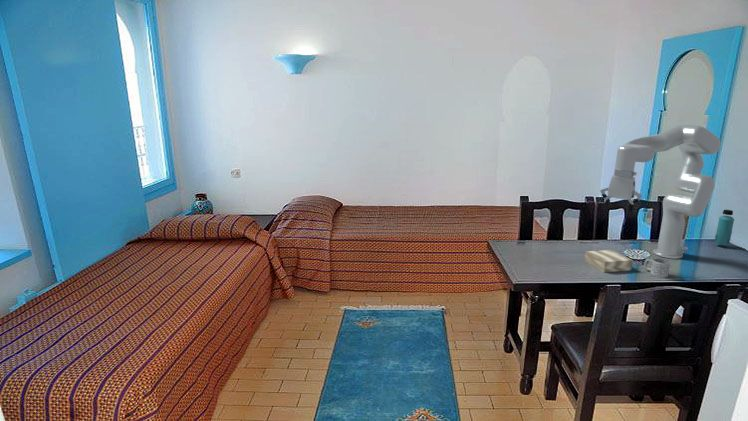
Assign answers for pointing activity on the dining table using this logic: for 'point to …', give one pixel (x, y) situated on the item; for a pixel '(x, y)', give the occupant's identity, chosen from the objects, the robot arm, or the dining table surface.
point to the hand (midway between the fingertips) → (618, 210)
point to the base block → (608, 260)
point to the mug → (658, 267)
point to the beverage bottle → (724, 228)
